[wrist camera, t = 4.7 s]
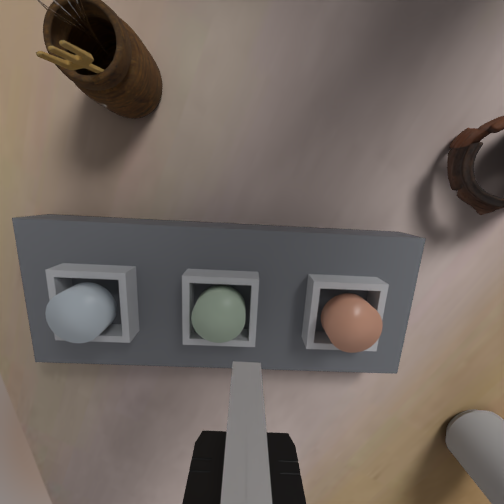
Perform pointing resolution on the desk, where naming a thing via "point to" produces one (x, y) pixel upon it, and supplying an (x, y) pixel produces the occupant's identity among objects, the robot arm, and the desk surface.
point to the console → (217, 273)
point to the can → (480, 449)
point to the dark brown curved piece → (472, 167)
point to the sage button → (219, 314)
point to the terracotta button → (351, 323)
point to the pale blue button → (81, 312)
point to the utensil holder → (102, 56)
